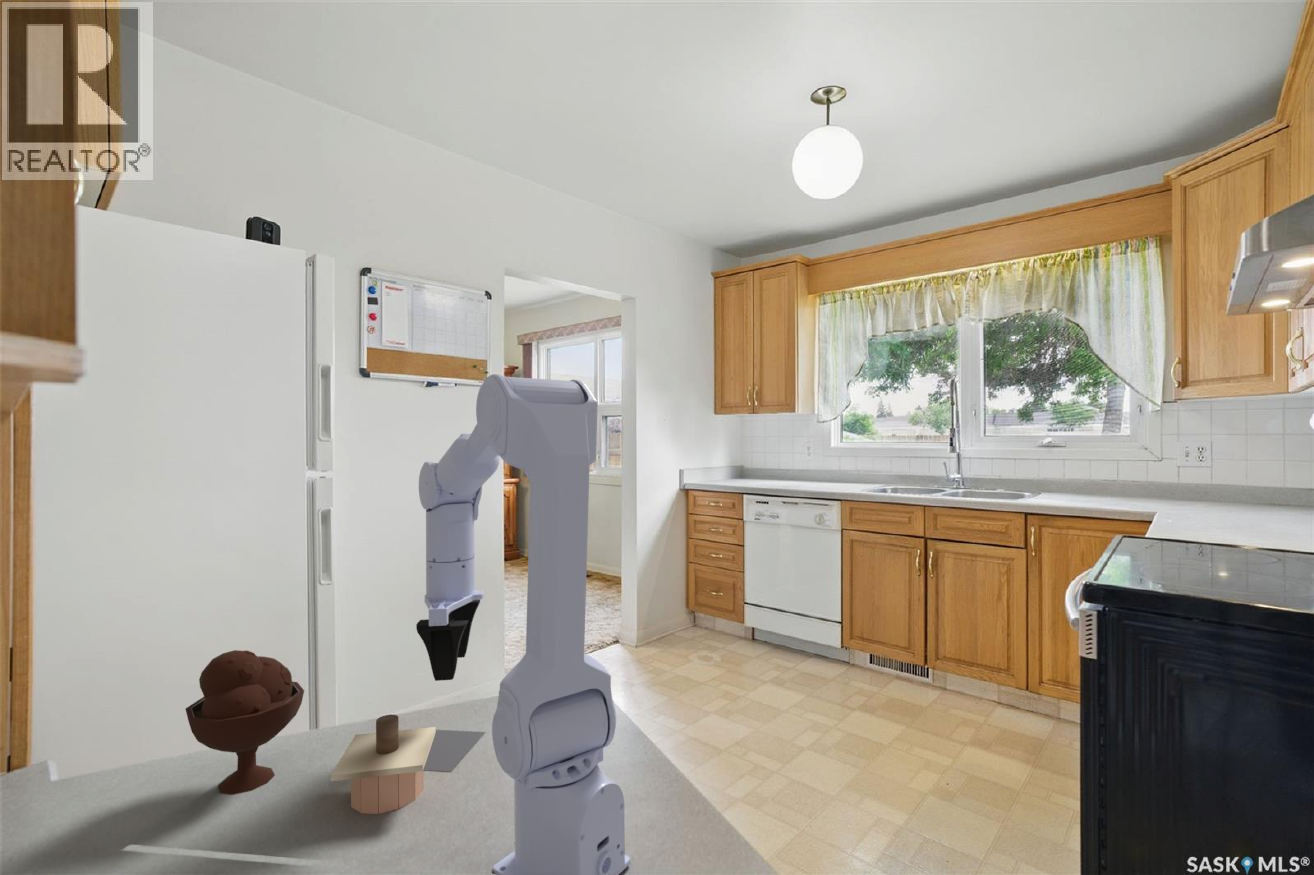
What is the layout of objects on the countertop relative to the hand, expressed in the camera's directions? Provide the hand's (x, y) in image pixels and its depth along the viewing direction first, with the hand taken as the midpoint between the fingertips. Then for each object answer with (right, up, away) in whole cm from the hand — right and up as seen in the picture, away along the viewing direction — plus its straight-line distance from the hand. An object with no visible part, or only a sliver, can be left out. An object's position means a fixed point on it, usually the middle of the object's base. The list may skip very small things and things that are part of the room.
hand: (450, 667), depth 75 cm
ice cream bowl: (-20, -10, -8) cm, 24 cm away
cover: (-3, -5, -11) cm, 12 cm away
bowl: (-3, -10, -11) cm, 15 cm away
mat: (-2, -10, -1) cm, 10 cm away
